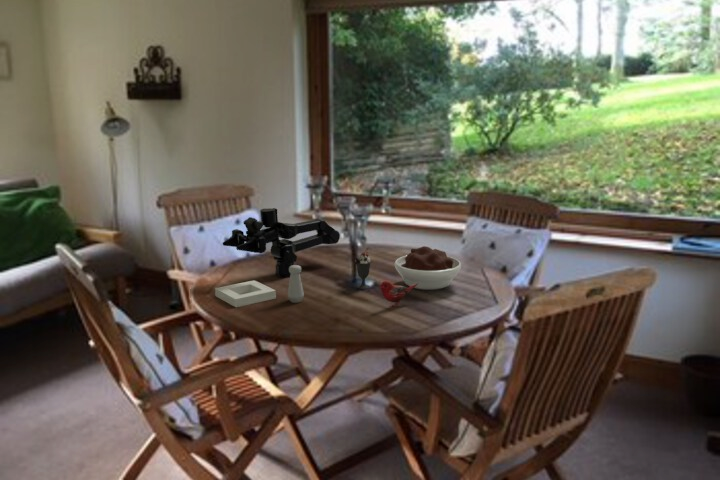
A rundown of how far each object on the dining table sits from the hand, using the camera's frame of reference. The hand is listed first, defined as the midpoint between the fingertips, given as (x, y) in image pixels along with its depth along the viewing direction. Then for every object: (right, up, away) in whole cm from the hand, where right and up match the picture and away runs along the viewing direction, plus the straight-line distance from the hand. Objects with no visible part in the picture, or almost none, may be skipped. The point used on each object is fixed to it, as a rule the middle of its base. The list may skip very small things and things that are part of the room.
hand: (229, 246), depth 241 cm
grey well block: (+7, -18, -6) cm, 21 cm away
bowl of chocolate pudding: (+74, -16, +6) cm, 76 cm away
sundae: (+50, -16, +5) cm, 52 cm away
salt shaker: (+26, -20, -10) cm, 34 cm away
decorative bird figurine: (+62, -21, -15) cm, 67 cm away
